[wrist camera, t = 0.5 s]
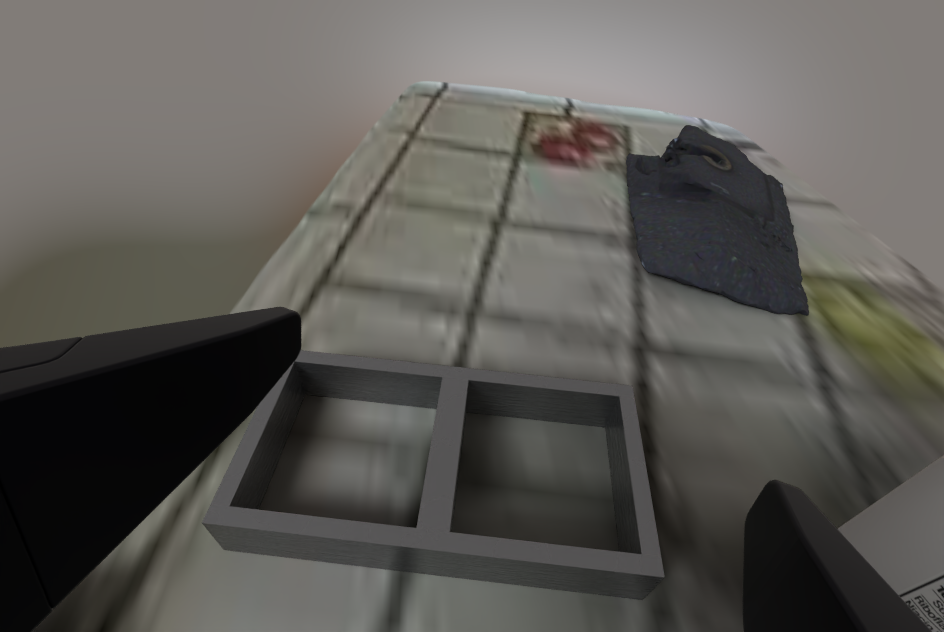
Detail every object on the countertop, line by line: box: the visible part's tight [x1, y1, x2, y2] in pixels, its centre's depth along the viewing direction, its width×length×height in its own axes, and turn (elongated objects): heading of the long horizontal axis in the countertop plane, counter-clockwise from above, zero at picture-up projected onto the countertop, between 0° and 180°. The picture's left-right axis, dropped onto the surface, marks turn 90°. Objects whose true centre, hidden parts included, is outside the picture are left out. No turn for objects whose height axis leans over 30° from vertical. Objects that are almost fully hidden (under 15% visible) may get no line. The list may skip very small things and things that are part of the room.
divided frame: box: [202, 350, 665, 600], centre depth 25 cm, size 10×19×3 cm, turn 85°
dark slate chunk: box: [626, 125, 809, 315], centre depth 42 cm, size 15×22×5 cm
